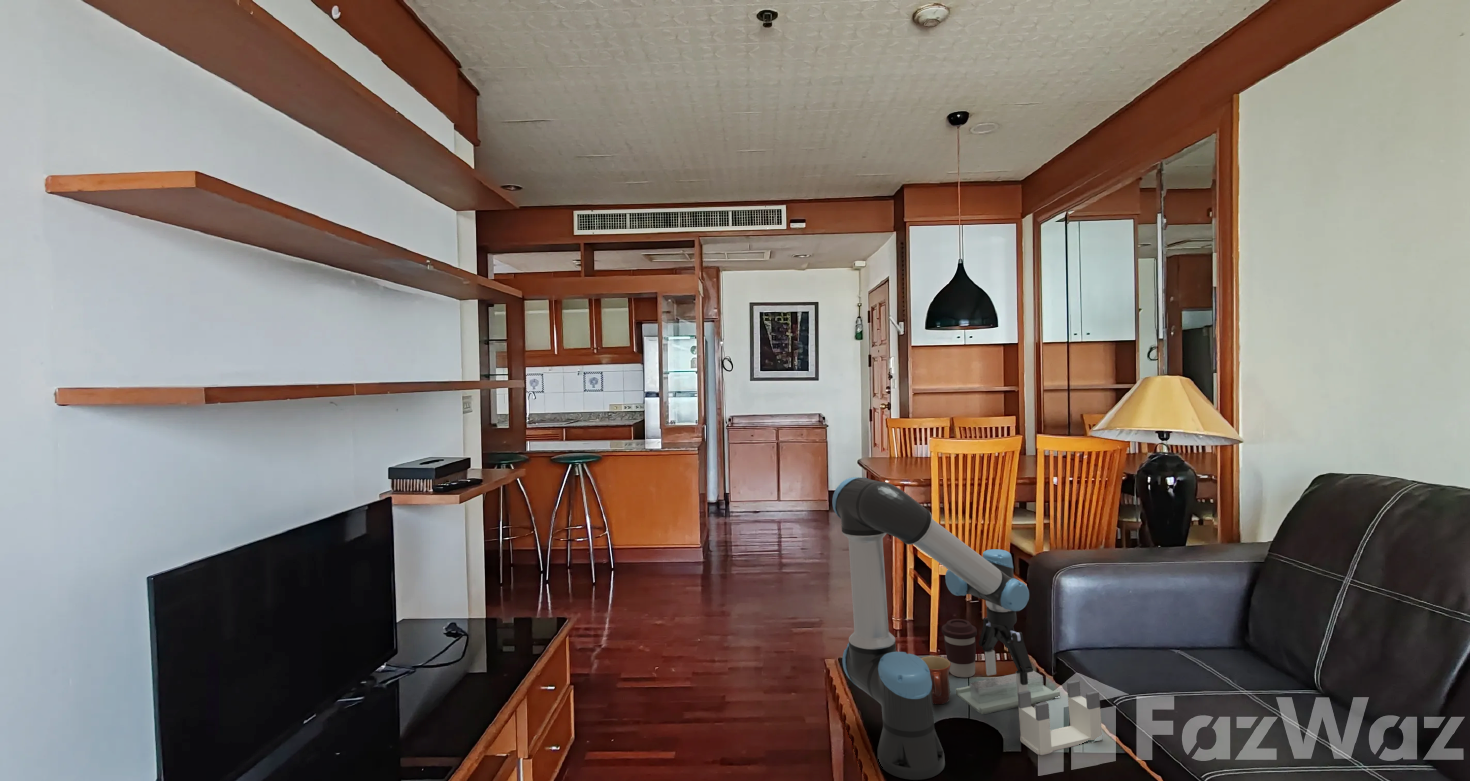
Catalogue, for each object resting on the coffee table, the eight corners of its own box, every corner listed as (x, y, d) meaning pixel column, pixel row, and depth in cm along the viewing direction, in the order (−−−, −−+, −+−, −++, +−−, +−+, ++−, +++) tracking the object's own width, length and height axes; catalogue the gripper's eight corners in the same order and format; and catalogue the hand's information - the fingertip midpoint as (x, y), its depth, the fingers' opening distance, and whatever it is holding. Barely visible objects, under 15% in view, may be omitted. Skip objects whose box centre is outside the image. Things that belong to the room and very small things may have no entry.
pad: (981, 714, 171) (981, 708, 171) (956, 694, 183) (955, 688, 183) (1060, 697, 177) (1059, 691, 177) (1030, 678, 189) (1030, 673, 189)
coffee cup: (956, 662, 203) (953, 614, 203) (986, 671, 195) (982, 621, 195) (938, 673, 196) (934, 623, 196) (968, 683, 189) (964, 631, 189)
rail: (979, 703, 176) (978, 688, 176) (970, 697, 179) (969, 682, 179) (1043, 690, 180) (1042, 675, 180) (1033, 683, 184) (1032, 669, 184)
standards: (1039, 755, 152) (1035, 706, 151) (1019, 740, 158) (1015, 692, 158) (1104, 739, 156) (1100, 691, 156) (1082, 725, 163) (1078, 679, 162)
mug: (919, 691, 186) (916, 655, 186) (951, 692, 184) (948, 655, 184) (922, 712, 174) (919, 674, 174) (957, 713, 173) (954, 675, 172)
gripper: (1044, 620, 168) (1050, 702, 169) (985, 592, 193) (990, 663, 193) (1018, 624, 167) (1024, 707, 167) (962, 595, 191) (968, 668, 191)
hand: (1006, 684), depth 180 cm, fingers open, 13 cm apart
